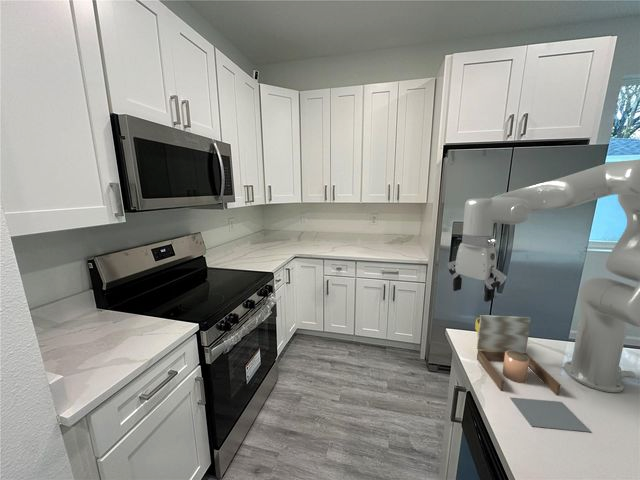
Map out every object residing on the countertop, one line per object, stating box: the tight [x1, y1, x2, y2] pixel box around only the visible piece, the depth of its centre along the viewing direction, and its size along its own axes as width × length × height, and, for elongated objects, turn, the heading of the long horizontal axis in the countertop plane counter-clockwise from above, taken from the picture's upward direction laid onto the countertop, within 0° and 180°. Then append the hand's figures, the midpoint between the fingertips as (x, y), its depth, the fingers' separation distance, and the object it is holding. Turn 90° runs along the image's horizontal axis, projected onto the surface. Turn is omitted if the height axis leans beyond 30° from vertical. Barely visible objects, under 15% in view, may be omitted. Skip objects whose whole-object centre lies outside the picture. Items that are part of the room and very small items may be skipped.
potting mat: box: [509, 396, 592, 433], centre depth 66 cm, size 13×9×1 cm
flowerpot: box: [502, 350, 529, 384], centre depth 79 cm, size 6×6×7 cm
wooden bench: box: [476, 314, 562, 396], centre depth 79 cm, size 15×15×16 cm
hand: (471, 295), depth 78 cm, fingers open, 9 cm apart
